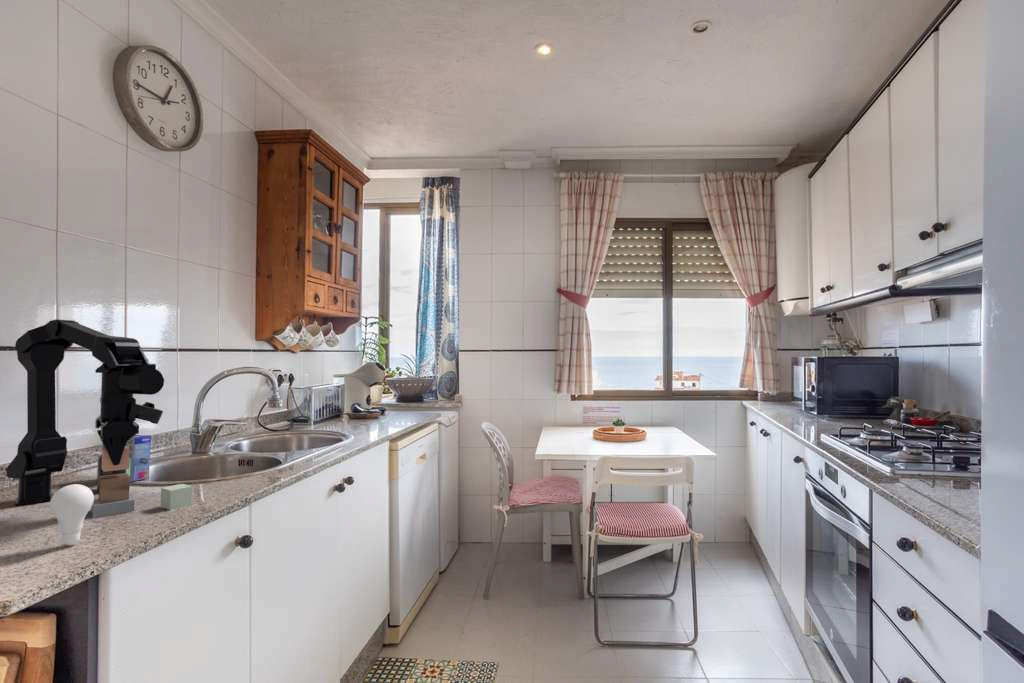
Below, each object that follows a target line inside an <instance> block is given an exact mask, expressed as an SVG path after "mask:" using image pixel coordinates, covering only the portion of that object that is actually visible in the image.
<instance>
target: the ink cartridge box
mask: <svg viewBox="0 0 1024 683" xmlns="http://www.w3.org/2000/svg"><path fill="white" fill-rule="evenodd" d="M151 440H152V435H151V434H149V435H148V434H135V435H134V436H132V437H131V438H130V439H129V440H127V446H128V447H129V449H130V455H131V477H130V483H131V482H133V483H134V482H138V481H142V480H147V479H149V478H150V464H151V463H150V462H151V444H152V443H151V442H152V441H151Z"/></svg>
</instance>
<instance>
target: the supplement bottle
mask: <svg viewBox="0 0 1024 683" xmlns="http://www.w3.org/2000/svg"><path fill="white" fill-rule="evenodd" d="M125 446H127V442H126V445H125ZM102 448H104V446H102ZM101 467H102V453H101V454H100V455H99V456H98V457H97V467H96V468H97V470H96V472H97V474H96V491H97V492H98V493H99V477H100V476H107V475H116V474H124V473H128V475H129V477H131V455H130V454H129V469H124V470H115V471H106V472H103V470H102V469H101ZM130 486H131V482H129V488H130Z"/></svg>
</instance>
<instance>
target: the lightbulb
mask: <svg viewBox="0 0 1024 683" xmlns="http://www.w3.org/2000/svg"><path fill="white" fill-rule="evenodd" d="M94 499H95V496H94V493H93V491H92V490H91V489H90V488H89V487H88V486H86V485H83V484H80V483H79V484H78V483H77V484H76V483H75V484H69V485H66V486H63V487H62V488H60V489H58V490H57V491H56V492H55V493H54V494H53V496H52V498H51V501H49V509H50V511H51V513H52V515H53V516H54V517H55V519H56V520H57V522H58V526H59V532H60V533H61V536H60V537H61V543H62V544H63V545H66V546H68V547H70V546H74V545H75V544H76V543H78V542H79V541H80V540H81V532H82V529H83V525H84V522H85V519H86V516H87V514H88V513H89V511H91V506H92V504H93V501H94Z"/></svg>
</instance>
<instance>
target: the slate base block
mask: <svg viewBox="0 0 1024 683" xmlns="http://www.w3.org/2000/svg"><path fill="white" fill-rule="evenodd" d="M90 511H92V512H91V515H92V518H93V519H96V518H102V517H107V516H108V515H109V516H113V515H114V514H116V515H121V513H122V514H125V513H126V512H128V513H133V512H132V511H134V512H135V498H134V497H133V495H132V493H129V499H128V500H121V501H114V502H107V503H100V501H99V497H96V498H95V497H94V501H93V504H92V506H91V508H90ZM114 516H115V515H114Z"/></svg>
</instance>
